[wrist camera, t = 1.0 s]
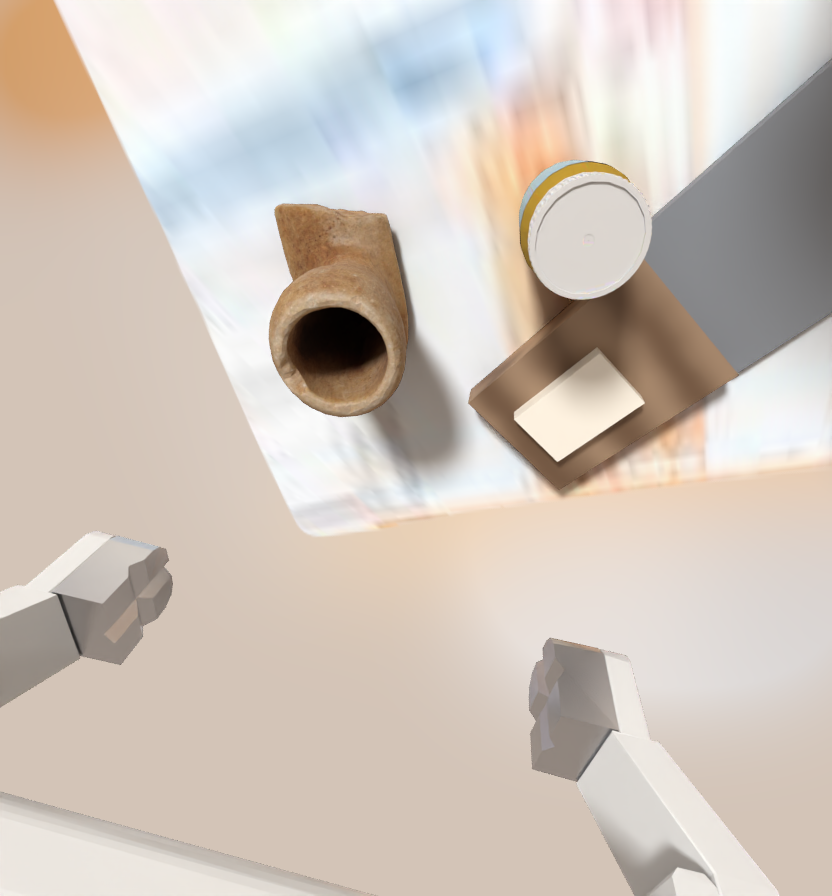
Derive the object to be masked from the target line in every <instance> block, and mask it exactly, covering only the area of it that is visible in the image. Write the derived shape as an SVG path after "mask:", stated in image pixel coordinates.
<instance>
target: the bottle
mask: <svg viewBox="0 0 832 896" xmlns="http://www.w3.org/2000/svg"><path fill="white" fill-rule="evenodd" d="M638 190H639V189H638V188H637V187H634V184H633V183H631V182H630V181H629V180H628V178H627V177H626V176H625V175H624V174H622V173H621V172H619V171H618V170H616V169H615V168H613V167H611V166H609V165H607V164H603V163H597V162H592V161H579V160H570V161H565V162H560V163H557V164H555V165H553V166H551V167H549V168H547V169H545V170H544V171H543V172H541V173H540V174H539V175H538V176H537V177H536V178H535V179H534V180H533V181H532V183H531V184H530V186H529V187H528V189H527V191H526V193H525V194H524V197H523V199H522V203H521V207H520V211H519V226H520V244H521V249H522V251H523V254H524V257H525V259H526V262H527V264H528V265H529V267H530V268H531V269H532V270H533V271H534V273H535V274H536V276H537V278H539V279H540V282H541V283H543V284H544V286H545V287H547V288H549V290H550V291H553V292H554V293H555V294H558V295H559V296H563V297H565V298H570V299H577V300H583V299H584V300H585V299H592V298H597V297H600V296H603V295H606V294H608V293H610V292H612V291H614V290H615V289H617V288H619V287H620V286H621V285H623V284H624V283H625V282H626V281H627V280H628V279H629V278H630V277H631V276H632V275H633V274H634V273H635V272H636V270H637V269H638V268H639V266H640V265H641V263H642V261H643V259H644V258H645V256H646V253H647V251H648V248H649V244H650V241H651V235H652V218H651V212H650V211H649V205H647V203H646V199H645V198H644V197H643V194H642V193H641V192H639V191H638Z"/></svg>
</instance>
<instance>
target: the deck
mask: <svg viewBox="0 0 832 896" xmlns="http://www.w3.org/2000/svg"><path fill="white" fill-rule="evenodd" d="M597 347H598V349H599V350H600V351H601V352H602V353H603V354H604V355H605V356H606V357H607V359H608V360H609V361H610V362H611V363H612V364H613V365H614V366H615V367H616V368H617V370H618V371H619V372H620V373H621V374H622V375H623V376H624V377H625V378H626V379H627V381H628V382H629V383H630V384H631V385H632V386H633V387H634V388H635V389H636V391H637V392H638V393H639V394H640V395H641V396H642V398H643V400H644V402H645V403H644V404H643V405H641V406H640V407H638V408H637V409H635V410H634V411H633V412H631V413H630V414H628V415H627V416H625V417H624V418H622V419H621V420H619V421H618V422H616V423H615V424H613V425H612V426H610V427H609V428H607V429H606V430H604V431H603V432H601V433H600V434H598V435H597V436H595V437H594V438H593V439H591V440H590V441H588V442H587V443H585V444H584V445H582V446H581V447H579V448H578V449H576V450H575V451H573V452H572V453H570V454H569V455H567V456H566V457H564V458H563V459H561V460H560V461H558V462H557V461H556V460H555V459H554V458H553V457H552V456H551V455H550V454H549V453H548V452H547V451H546V450H545V449H544V448H543V447H542V446H541V445H540V444H538V443H537V442H536V441H535V440H534V439H533V438H532V437H531V436H530V435H529V434H528V433H527V432H526V431H525V430H524V429H523V428H522V427H521V426H520V425H519V424H518V423H517V422H516V421H515V420H514V412H515V411H516V410H517V409H519V408H520V407H521V406H522V405H524V404H525V403H526V402H528V401H529V400H530V399H531V398H533V397H534V396H535V395H536V394H538V393H539V392H540V391H542V390H543V389H544V388H545V387H547V386H548V385H549V384H551V383H552V382H553V381H554V380H556V379H557V378H558V377H560V376H561V375H562V374H563V373H565V372H566V371H567V370H568V369H570V368H571V367H572V366H574V365H575V364H576V363H577V362H579V361H580V360H581V359H583V358H584V357H585V356H586V355H588V354H589V353H590V352H591V351H593V350H594V349H595V348H597ZM737 376H738V373H737V372H736V371H735V370H734V368H733V367H732V366H731V365H730V363H729V362H728V361H727V360H726V359H725V357H724V356H723V355H722V354H721V352H720V351H719V350H718V349H717V348H716V346H715V345H714V344H713V343H712V341H711V340H710V339H709V338H708V337H707V335H706V334H705V333H704V332H703V330H702V329H701V328H700V327H699V326H698V324H697V323H696V322H695V321H694V319H693V318H692V317H691V316H690V315H689V313H688V312H687V311H686V310H685V308H684V307H683V306H682V305H681V304H680V302H679V301H678V300H677V299H676V297H675V296H674V295H673V294H672V292H671V291H670V290H669V289H668V288H667V286H666V285H665V284H664V283H663V281H662V280H661V279H660V278H659V277H658V275H657V274H656V273H655V272H654V270H653V269H652V268H651V267H650V266H649V264H648V263H647V262H646V261H645V259H643V261H642V263H641V265H640V266H639V268H638V269H637V270H636V272H635V273H634V274H633V275H632V276H631V277H630V278H629V279H628V280H627V281H626V282H625V283H624V284H623V285H621V286H620V287H619V288H617V289H615V290H614V291H612V292H610V293H608V294H606V295H603V296H600V297H597V298H592V299H585V300H584V299H583V300H577V299H576V300H574V301H573V302H572V303H571V304H570V305H569V306H568V307H566V308H565V309H564V310H563V311H562V312H561V313H559V314H558V315H557V316H556V317H555V318H554V319H552V320H551V321H550V322H549V323H548V324H547V325H545V326H544V327H543V328H542V329H541V330H540V331H539V332H537V333H536V334H535V335H534V336H533V337H532V338H530V339H529V340H528V341H527V342H526V343H525V344H523V345H522V346H521V347H520V348H519V349H518V350H517V351H515V352H514V353H513V354H512V355H511V356H510V357H508V358H507V359H506V360H505V361H504V362H503V363H501V364H500V365H499V366H498V367H497V368H496V369H494V370H493V371H492V372H491V373H490V374H489V375H488V376H486V377H485V378H484V379H483V380H482V381H481V382H479V383H478V384H477V385H476V386H475V387H474V388H472V389H471V392H470V397H469V402H468V403H469V404H470V405H471V406H472V407H473V408H474V409H475V410H476V411H477V412H478V413H479V414H480V415H481V416H482V417H483V418H484V419H485V420H486V421H487V422H488V423H489V424H490V425H492V426H493V427H494V428H495V429H496V430H497V431H498V432H499V433H500V434H501V435H502V436H503V437H504V438H505V439H506V440H507V441H508V442H509V443H510V444H511V445H512V446H513V447H515V448H516V449H517V450H518V451H519V452H520V453H521V454H522V455H523V456H524V457H525V458H526V459H527V460H528V461H529V462H530V463H531V464H532V465H533V466H534V467H535V468H536V469H538V470H539V471H540V472H541V473H542V474H543V475H544V476H545V477H546V478H547V479H548V480H549V481H550V482H551V483H552V484H553V485H554V486H555V487H556V488H557V489H558V490H560V489H561V488H563V487H564V486H566V485H567V484H569V483H571V482H572V481H574V480H575V479H577V478H578V477H580V476H582V475H583V474H585V473H586V472H588V471H589V470H591V469H593V468H594V467H596V466H597V465H599V464H600V463H602V462H603V461H605V460H607V459H608V458H610V457H611V456H613V455H614V454H616V453H618V452H619V451H621V450H622V449H624V448H625V447H627V446H629V445H630V444H632V443H633V442H635V441H636V440H638V439H640V438H641V437H643V436H644V435H646V434H647V433H649V432H650V431H652V430H654V429H655V428H657V427H658V426H660V425H661V424H663V423H665V422H666V421H668V420H669V419H671V418H672V417H674V416H676V415H677V414H679V413H680V412H682V411H683V410H685V409H687V408H688V407H690V406H691V405H693V404H694V403H696V402H697V401H699V400H701V399H702V398H704V397H705V396H707V395H708V394H710V393H712V392H713V391H715V390H716V389H718V388H719V387H721V386H723V385H724V384H726V383H727V382H729V381H730V380H732V379H734V378H735V377H737Z"/></svg>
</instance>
